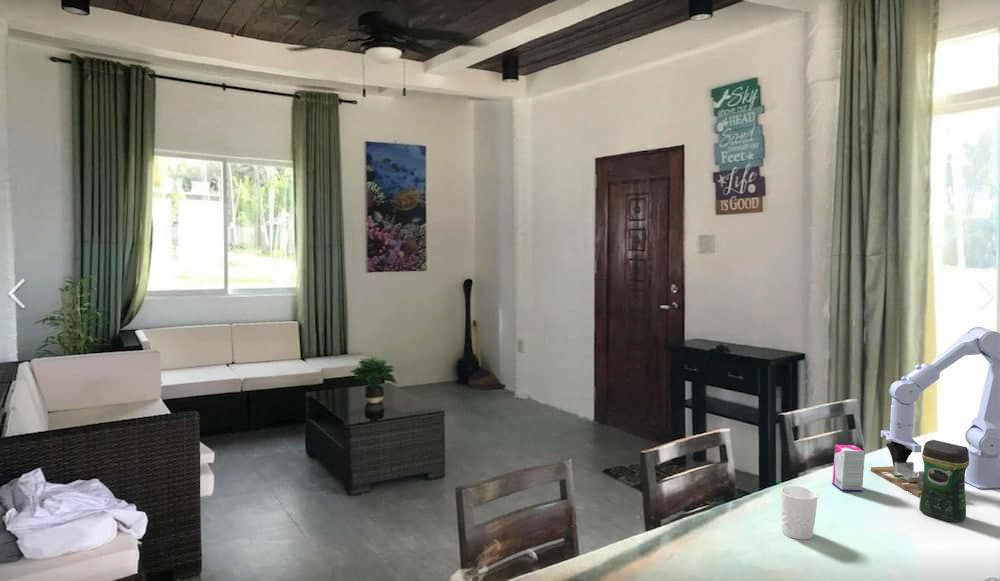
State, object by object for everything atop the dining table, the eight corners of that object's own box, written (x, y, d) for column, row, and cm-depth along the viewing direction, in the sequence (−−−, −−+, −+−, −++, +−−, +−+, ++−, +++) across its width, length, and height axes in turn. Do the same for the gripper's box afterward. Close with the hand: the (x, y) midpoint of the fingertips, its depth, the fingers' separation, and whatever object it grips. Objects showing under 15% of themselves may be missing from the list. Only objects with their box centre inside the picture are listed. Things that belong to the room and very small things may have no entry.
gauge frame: (870, 470, 201) (871, 451, 200) (902, 470, 202) (903, 450, 201) (918, 497, 181) (919, 475, 180) (953, 496, 182) (954, 474, 181)
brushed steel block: (885, 474, 194) (886, 462, 194) (910, 473, 195) (911, 461, 194) (905, 485, 186) (906, 472, 186) (930, 484, 187) (931, 471, 186)
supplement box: (863, 492, 185) (865, 451, 184) (841, 491, 185) (843, 450, 184) (852, 484, 190) (854, 444, 189) (831, 483, 190) (833, 444, 189)
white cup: (799, 544, 154) (801, 501, 153) (771, 530, 161) (773, 489, 160) (823, 536, 157) (825, 495, 156) (794, 523, 164) (796, 483, 163)
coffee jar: (970, 517, 168) (975, 445, 167) (957, 525, 164) (962, 451, 162) (927, 505, 176) (931, 435, 174) (913, 512, 171) (918, 440, 170)
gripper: (872, 416, 202) (869, 460, 203) (905, 430, 187) (902, 478, 188) (894, 415, 202) (891, 459, 203) (929, 430, 188) (926, 477, 189)
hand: (898, 468), depth 196 cm, fingers closed
